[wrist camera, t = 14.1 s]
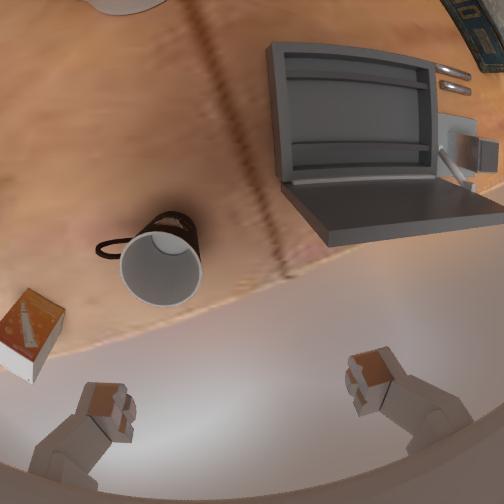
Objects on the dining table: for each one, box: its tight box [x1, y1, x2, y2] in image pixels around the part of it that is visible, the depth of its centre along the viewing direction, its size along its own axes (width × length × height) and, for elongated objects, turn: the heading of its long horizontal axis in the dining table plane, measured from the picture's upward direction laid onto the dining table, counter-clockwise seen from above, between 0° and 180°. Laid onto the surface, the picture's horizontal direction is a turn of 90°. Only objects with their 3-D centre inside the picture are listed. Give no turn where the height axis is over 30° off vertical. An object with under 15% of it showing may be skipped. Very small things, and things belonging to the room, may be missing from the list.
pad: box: [435, 113, 477, 177], centre depth 36 cm, size 10×10×1 cm
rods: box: [434, 63, 472, 96], centre depth 30 cm, size 4×8×1 cm, turn 95°
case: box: [266, 43, 504, 247], centre depth 25 cm, size 17×23×18 cm
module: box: [447, 132, 499, 174], centre depth 32 cm, size 5×5×7 cm
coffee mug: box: [96, 211, 202, 308], centre depth 32 cm, size 12×9×10 cm
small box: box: [0, 288, 65, 385], centre depth 34 cm, size 8×6×13 cm
